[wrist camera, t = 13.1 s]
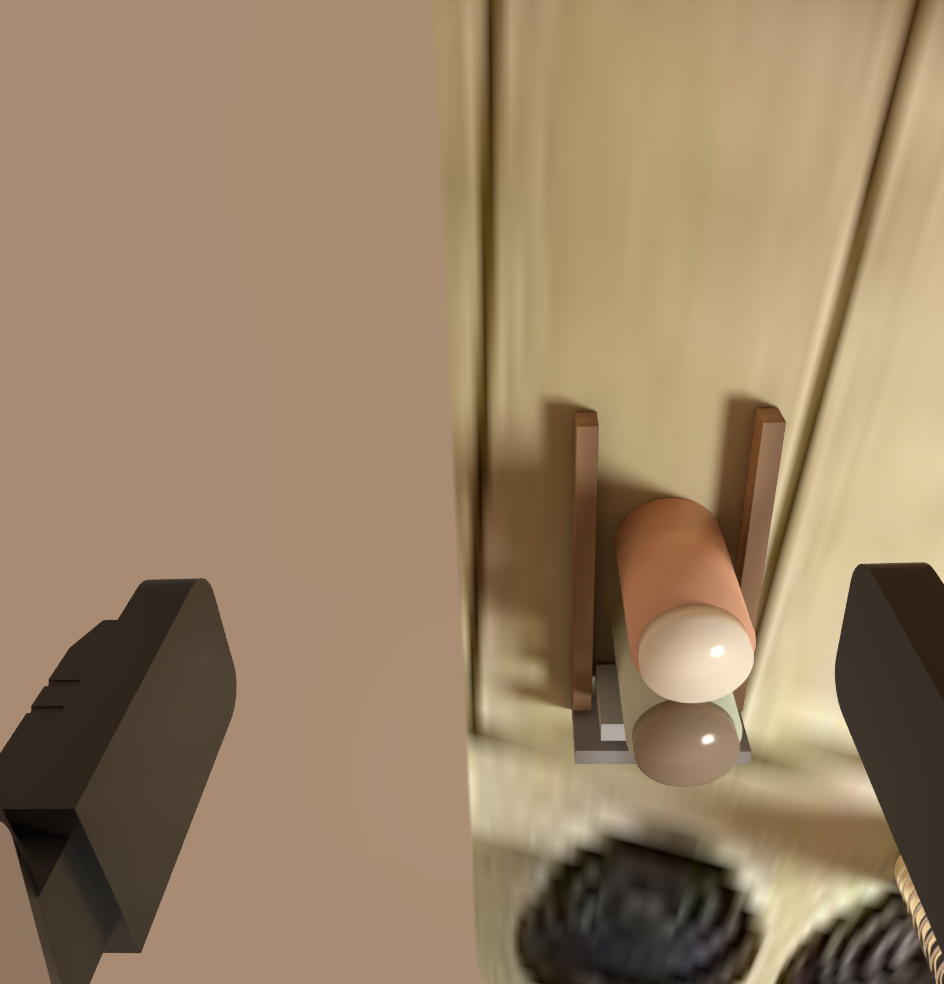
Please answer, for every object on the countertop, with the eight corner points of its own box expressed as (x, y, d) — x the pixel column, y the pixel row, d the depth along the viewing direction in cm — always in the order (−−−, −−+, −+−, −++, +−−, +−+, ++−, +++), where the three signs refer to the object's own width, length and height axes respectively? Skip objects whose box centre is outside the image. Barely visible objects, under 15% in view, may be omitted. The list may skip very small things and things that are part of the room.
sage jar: (727, 597, 47) (766, 723, 39) (690, 670, 50) (719, 800, 42) (630, 575, 46) (651, 698, 39) (598, 649, 49) (611, 777, 42)
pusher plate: (718, 664, 49) (734, 724, 45) (716, 680, 50) (732, 741, 46) (595, 664, 50) (601, 724, 46) (595, 680, 50) (600, 740, 46)
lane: (777, 407, 41) (800, 448, 38) (734, 710, 51) (749, 764, 48) (575, 412, 42) (579, 452, 38) (571, 710, 52) (575, 763, 48)
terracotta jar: (700, 592, 47) (734, 718, 39) (602, 572, 47) (616, 695, 39) (737, 509, 44) (780, 627, 36) (632, 488, 44) (654, 602, 36)
